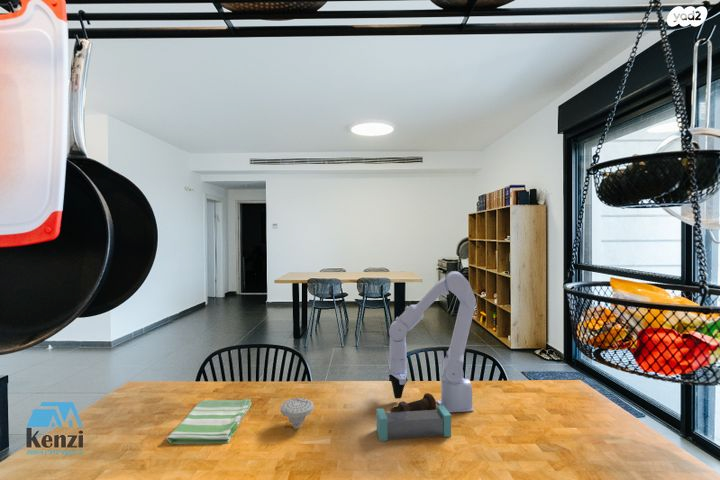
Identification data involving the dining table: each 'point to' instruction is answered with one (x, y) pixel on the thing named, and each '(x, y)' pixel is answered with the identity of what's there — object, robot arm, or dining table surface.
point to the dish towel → (210, 422)
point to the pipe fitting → (413, 424)
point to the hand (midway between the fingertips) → (397, 397)
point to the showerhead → (297, 410)
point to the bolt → (416, 405)
